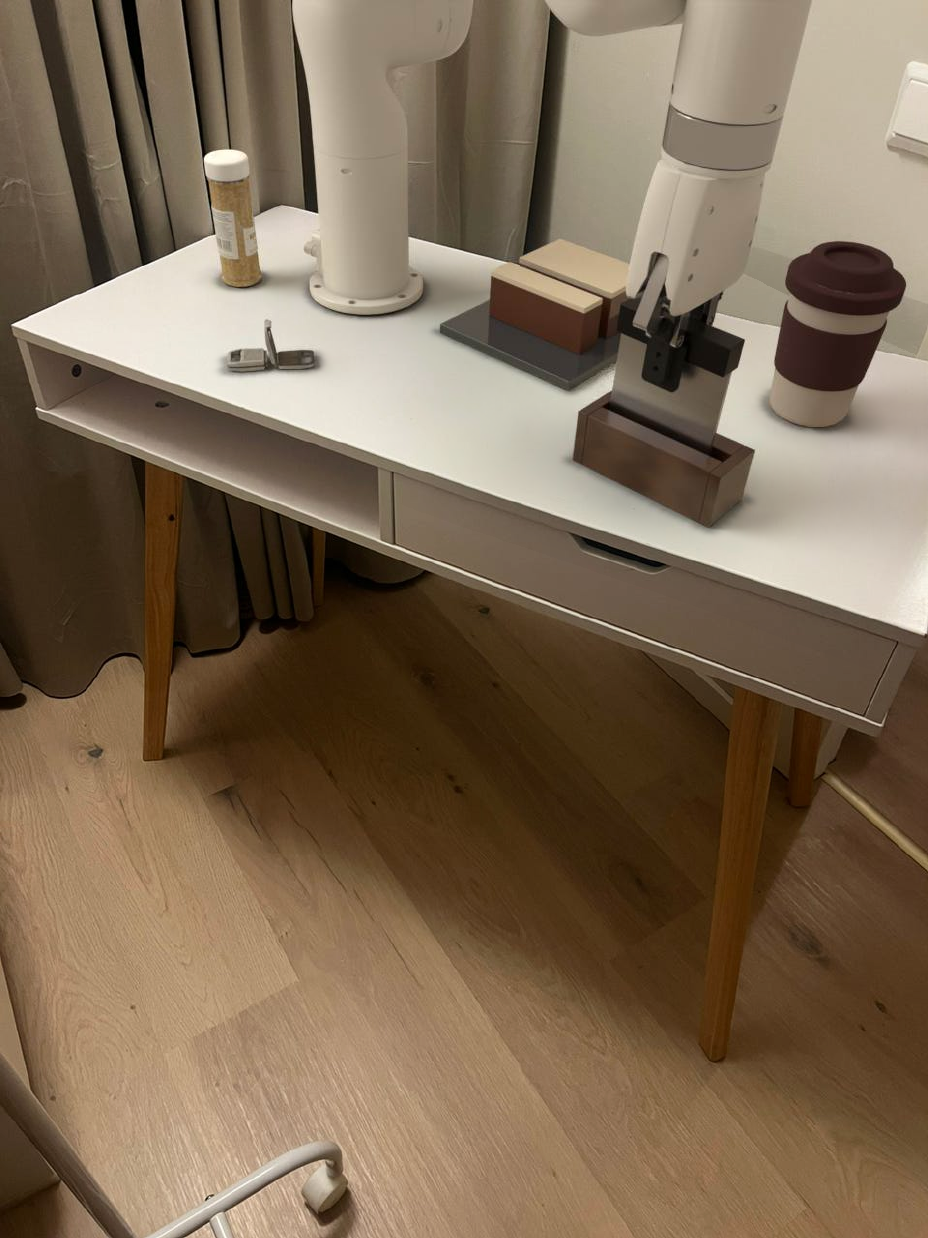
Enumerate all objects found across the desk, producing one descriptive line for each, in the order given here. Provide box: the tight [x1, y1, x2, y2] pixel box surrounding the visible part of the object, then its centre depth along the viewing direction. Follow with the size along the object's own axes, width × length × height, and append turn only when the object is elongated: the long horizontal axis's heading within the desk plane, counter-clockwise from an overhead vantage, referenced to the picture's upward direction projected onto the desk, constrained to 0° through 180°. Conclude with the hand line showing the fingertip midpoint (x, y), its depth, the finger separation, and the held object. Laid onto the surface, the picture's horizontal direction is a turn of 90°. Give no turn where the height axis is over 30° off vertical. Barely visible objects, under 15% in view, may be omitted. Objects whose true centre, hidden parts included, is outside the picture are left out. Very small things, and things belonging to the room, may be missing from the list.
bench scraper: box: [609, 297, 746, 456], centre depth 80 cm, size 10×2×11 cm, turn 48°
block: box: [572, 389, 756, 528], centre depth 84 cm, size 14×5×5 cm, turn 48°
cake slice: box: [489, 261, 603, 355], centre depth 102 cm, size 12×3×5 cm, turn 48°
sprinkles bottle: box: [203, 149, 263, 288], centre depth 108 cm, size 5×5×13 cm
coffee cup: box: [769, 240, 907, 428], centre depth 90 cm, size 10×10×15 cm
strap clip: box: [226, 319, 316, 373], centre depth 97 cm, size 8×3×4 cm, turn 98°
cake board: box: [439, 238, 643, 392], centre depth 103 cm, size 17×17×6 cm
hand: (669, 376), depth 80 cm, fingers closed on bench scraper, 2 cm apart
